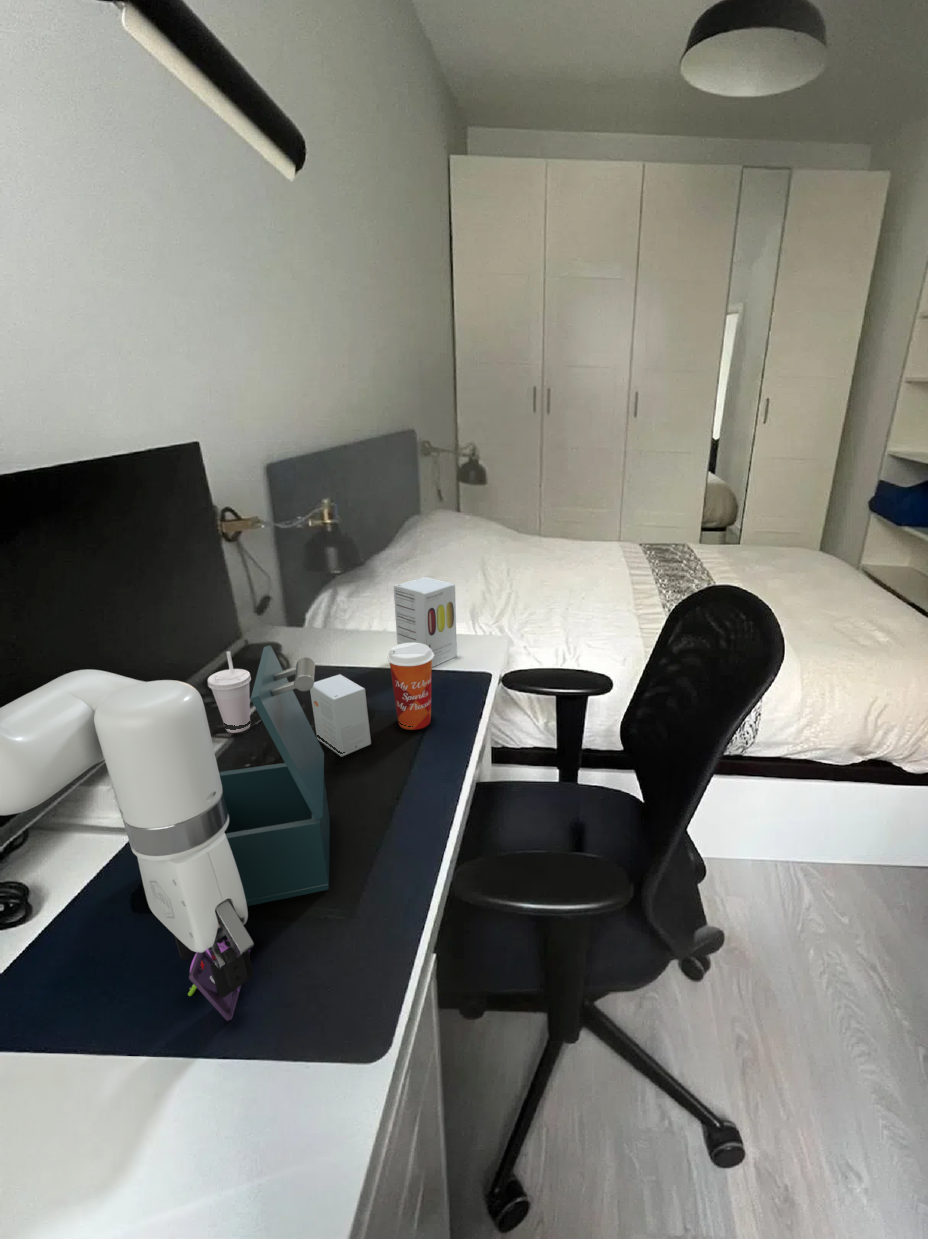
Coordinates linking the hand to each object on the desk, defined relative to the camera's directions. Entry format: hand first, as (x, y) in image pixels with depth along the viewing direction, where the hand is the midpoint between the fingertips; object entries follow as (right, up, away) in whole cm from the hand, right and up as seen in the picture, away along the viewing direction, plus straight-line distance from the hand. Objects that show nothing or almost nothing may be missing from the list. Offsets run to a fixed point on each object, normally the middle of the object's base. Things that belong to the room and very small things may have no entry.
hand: (216, 966), depth 62 cm
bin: (-4, +4, +16) cm, 17 cm away
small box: (-3, +15, +43) cm, 46 cm away
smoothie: (-22, +17, +46) cm, 54 cm away
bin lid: (+2, +22, +11) cm, 24 cm away
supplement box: (+3, +28, +76) cm, 81 cm away
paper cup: (+7, +17, +50) cm, 54 cm away
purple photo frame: (0, -3, +1) cm, 3 cm away
